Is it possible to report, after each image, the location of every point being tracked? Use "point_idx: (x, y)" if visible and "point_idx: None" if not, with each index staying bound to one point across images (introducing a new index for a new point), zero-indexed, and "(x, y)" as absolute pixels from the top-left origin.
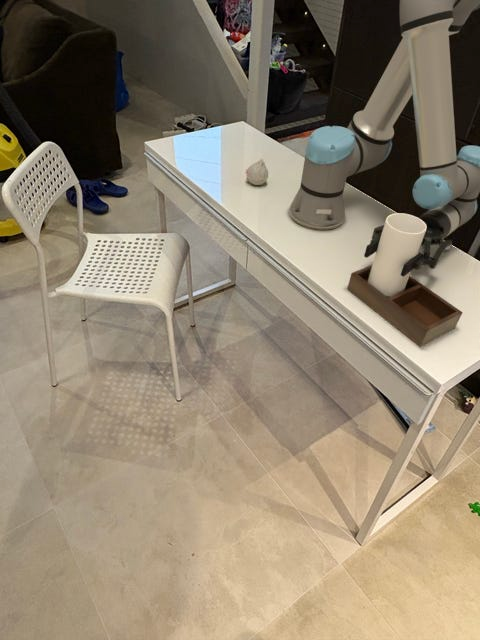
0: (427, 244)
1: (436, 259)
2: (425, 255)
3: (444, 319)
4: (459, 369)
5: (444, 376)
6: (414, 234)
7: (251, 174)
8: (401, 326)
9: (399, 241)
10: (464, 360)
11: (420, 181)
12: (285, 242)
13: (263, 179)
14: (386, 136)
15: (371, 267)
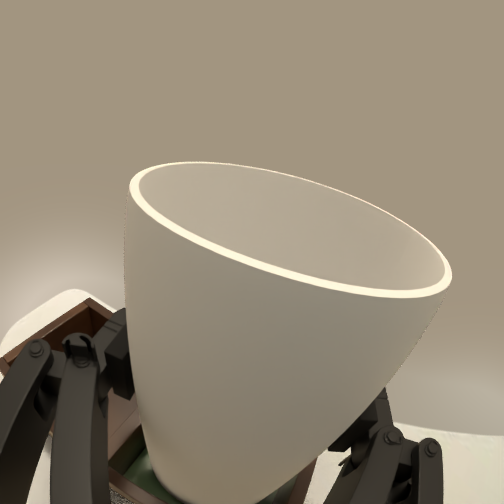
0: (71, 478)
1: (35, 342)
2: (89, 347)
3: (44, 331)
4: (40, 306)
5: (66, 292)
6: (205, 166)
7: None
8: None
9: (253, 219)
10: (25, 322)
11: None
12: (484, 460)
13: None
14: None
15: (300, 478)
